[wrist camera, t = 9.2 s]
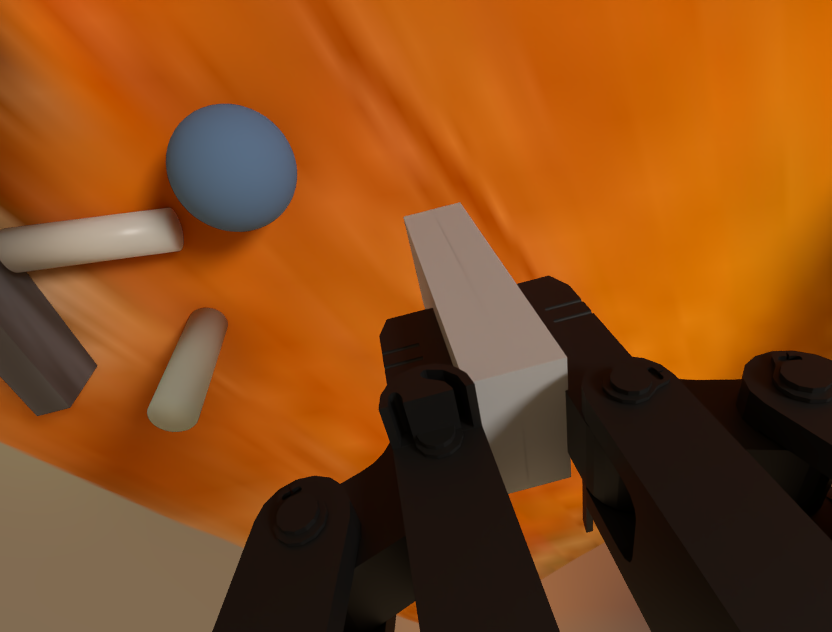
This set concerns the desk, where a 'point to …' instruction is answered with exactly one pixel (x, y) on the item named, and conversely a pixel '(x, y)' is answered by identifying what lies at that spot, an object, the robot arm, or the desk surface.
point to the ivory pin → (90, 240)
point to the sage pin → (189, 372)
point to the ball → (231, 167)
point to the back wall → (38, 347)
